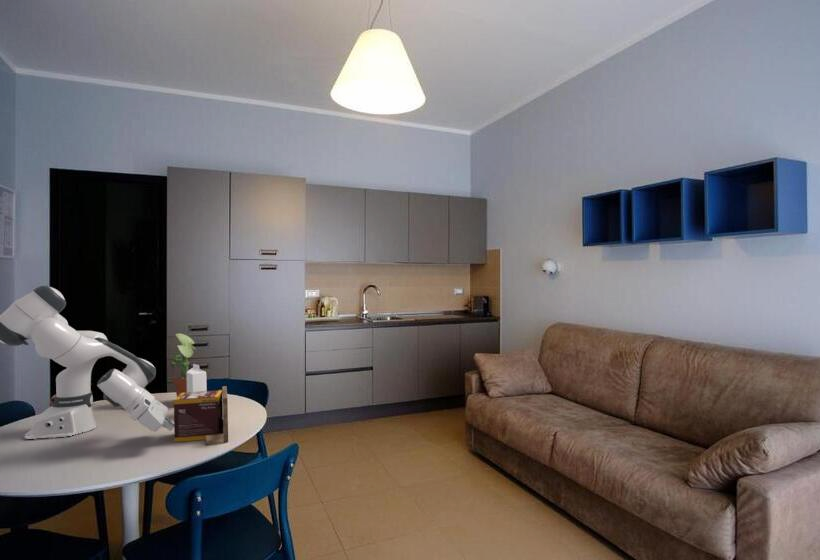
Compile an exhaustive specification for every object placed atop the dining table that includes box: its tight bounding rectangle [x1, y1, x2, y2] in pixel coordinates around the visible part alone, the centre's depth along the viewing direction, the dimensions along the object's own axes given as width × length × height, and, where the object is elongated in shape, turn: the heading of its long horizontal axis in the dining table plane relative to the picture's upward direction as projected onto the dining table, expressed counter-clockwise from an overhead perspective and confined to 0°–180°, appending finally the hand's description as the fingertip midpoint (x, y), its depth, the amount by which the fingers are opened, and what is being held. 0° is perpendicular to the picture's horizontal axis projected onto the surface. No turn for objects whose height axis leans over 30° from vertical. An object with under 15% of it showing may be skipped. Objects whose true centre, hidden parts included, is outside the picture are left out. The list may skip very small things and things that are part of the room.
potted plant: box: [170, 332, 196, 398], centre depth 220 cm, size 16×15×35 cm
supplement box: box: [173, 389, 223, 443], centre depth 179 cm, size 10×15×16 cm
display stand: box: [205, 385, 229, 446], centre depth 180 cm, size 7×19×16 cm, turn 22°
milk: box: [186, 363, 208, 392], centre depth 203 cm, size 6×6×22 cm
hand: (172, 428), depth 174 cm, fingers closed
